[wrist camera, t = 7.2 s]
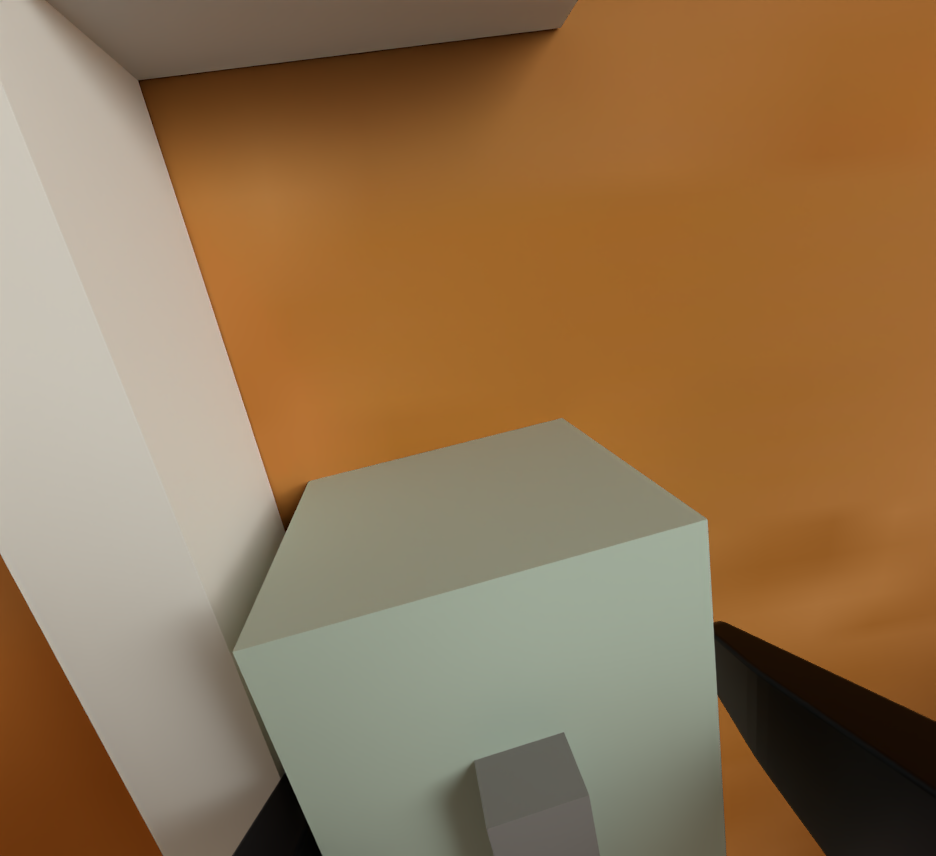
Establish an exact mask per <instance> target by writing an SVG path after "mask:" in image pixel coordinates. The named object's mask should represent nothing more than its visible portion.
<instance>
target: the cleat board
mask: <svg viewBox="0 0 936 856" xmlns="http://www.w3.org/2000/svg"><path fill="white" fill-rule="evenodd" d="M577 1H578V0H0V554H1V556H2V558H3V560H4V562H5V563H6V565H7V567H8V569H9V571H10V573H11V575H12V576H13V578H14V580H15V582H16V584H17V586H18V588H19V589H20V591H21V593H22V595H23V597H24V599H25V601H26V602H27V604H28V606H29V608H30V610H31V612H32V613H33V615H34V617H35V619H36V621H37V623H38V625H39V626H40V628H41V630H42V632H43V634H44V636H45V638H46V639H47V641H48V643H49V645H50V647H51V649H52V651H53V652H54V654H55V656H56V658H57V660H58V662H59V664H60V665H61V667H62V669H63V671H64V673H65V675H66V677H67V678H68V680H69V682H70V684H71V686H72V688H73V690H74V691H75V693H76V695H77V697H78V699H79V701H80V702H81V704H82V706H83V708H84V710H85V712H86V714H87V715H88V717H89V719H90V721H91V723H92V725H93V727H94V728H95V730H96V732H97V734H98V736H99V738H100V740H101V741H102V743H103V745H104V747H105V749H106V751H107V753H108V754H109V756H110V758H111V760H112V762H113V764H114V766H115V767H116V769H117V771H118V773H119V775H120V777H121V778H122V780H123V782H124V784H125V786H126V788H127V790H128V791H129V793H130V795H131V797H132V799H133V801H134V803H135V804H136V806H137V808H138V810H139V812H140V814H141V816H142V817H143V819H144V821H145V823H146V825H147V827H148V829H149V830H150V832H151V834H152V836H153V838H154V840H155V842H156V843H157V845H158V847H159V849H160V851H161V853H162V855H163V856H232V855H233V853H234V852H235V850H236V848H237V847H238V845H239V844H240V842H241V840H242V839H243V837H244V836H245V834H246V833H247V831H248V829H249V828H250V826H251V825H252V823H253V822H254V820H255V818H256V817H257V815H258V814H259V812H260V811H261V809H262V807H263V806H264V804H265V803H266V801H267V800H268V798H269V796H270V795H271V793H272V792H273V790H274V789H275V787H276V785H277V784H278V782H279V781H280V779H281V778H282V776H283V774H284V773H285V770H284V768H283V766H282V763H281V761H280V759H279V757H278V754H277V752H276V750H275V748H274V745H273V743H272V741H271V739H270V736H269V734H268V732H267V730H266V727H265V725H264V723H263V720H262V718H261V716H260V714H259V711H258V709H257V707H256V705H255V702H254V700H253V698H252V696H251V693H250V691H249V689H248V687H247V684H246V682H245V680H244V678H243V675H242V673H241V671H240V669H239V666H238V664H237V662H236V659H235V657H234V655H233V653H232V652H233V650H234V647H235V645H236V643H237V641H238V638H239V636H240V634H241V632H242V629H243V627H244V625H245V623H246V620H247V618H248V616H249V614H250V611H251V609H252V607H253V605H254V603H255V600H256V598H257V596H258V594H259V591H260V589H261V587H262V585H263V582H264V580H265V578H266V576H267V573H268V571H269V569H270V567H271V565H272V562H273V560H274V558H275V556H276V553H277V551H278V549H279V547H280V544H281V542H282V540H283V538H284V535H285V530H284V527H283V524H282V521H281V517H280V514H279V511H278V508H277V505H276V502H275V499H274V496H273V493H272V490H271V487H270V484H269V481H268V478H267V475H266V471H265V468H264V465H263V462H262V459H261V456H260V453H259V450H258V447H257V444H256V441H255V438H254V435H253V432H252V429H251V425H250V422H249V419H248V416H247V413H246V410H245V407H244V404H243V401H242V398H241V395H240V392H239V389H238V386H237V383H236V379H235V376H234V373H233V370H232V367H231V364H230V361H229V358H228V355H227V352H226V349H225V346H224V343H223V340H222V337H221V334H220V330H219V327H218V324H217V321H216V318H215V315H214V312H213V309H212V306H211V303H210V300H209V297H208V294H207V291H206V288H205V284H204V281H203V278H202V275H201V272H200V269H199V266H198V263H197V260H196V257H195V254H194V251H193V248H192V245H191V242H190V238H189V235H188V232H187V229H186V226H185V223H184V220H183V217H182V214H181V211H180V208H179V205H178V202H177V199H176V196H175V192H174V189H173V186H172V183H171V180H170V177H169V174H168V171H167V168H166V165H165V162H164V159H163V156H162V153H161V150H160V147H159V143H158V140H157V137H156V134H155V131H154V128H153V125H152V122H151V119H150V116H149V113H148V110H147V107H146V104H145V101H144V97H143V94H142V91H141V88H140V85H139V82H138V80H145V79H153V78H161V77H169V76H177V75H185V74H193V73H201V72H209V71H217V70H225V69H233V68H241V67H249V66H257V65H265V64H274V63H282V62H290V61H298V60H306V59H314V58H322V57H330V56H338V55H346V54H354V53H362V52H370V51H378V50H386V49H394V48H402V47H410V46H419V45H427V44H435V43H443V42H451V41H459V40H467V39H475V38H483V37H491V36H499V35H507V34H515V33H523V32H531V31H539V30H547V29H555V28H561V26H562V25H563V23H564V21H565V20H566V18H567V17H568V15H569V14H570V12H571V10H572V9H573V7H574V6H575V4H576V2H577Z"/></svg>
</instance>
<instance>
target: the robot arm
mask: <svg viewBox="0 0 936 856" xmlns="http://www.w3.org/2000/svg"><path fill="white" fill-rule="evenodd" d="M713 628H714V646H715V663H716V681H717V695H718V697H719V698H720V700H721V702H722V703H723V705H724V707H725V708H726V710H727V712H728V713H729V715H730V717H731V718H732V720H733V722H734V723H735V725H736V727H737V728H738V730H739V732H740V733H741V735H742V737H743V738H744V740H745V742H746V743H747V745H748V746H749V748H750V750H751V751H752V753H753V754H754V756H755V757H756V759H757V760H758V762H759V763H760V765H761V766H762V768H763V769H764V770H765V772H766V773H767V775H768V776H769V777H770V779H771V780H772V782H773V783H774V784H775V786H776V787H777V788H778V790H779V791H780V793H781V794H782V795H783V797H784V798H785V799H786V801H787V802H788V804H789V805H790V806H791V808H792V809H793V811H794V812H795V813H796V815H797V816H798V817H799V819H800V820H801V822H802V823H803V824H804V826H805V827H806V828H807V830H808V831H809V833H810V834H811V835H812V837H813V838H814V839H815V841H816V842H817V844H818V845H819V846H820V848H821V849H822V850H823V852H824V853H825V855H826V856H936V721H933V720H931V719H929V718H927V717H925V716H923V715H921V714H919V713H916V712H914V711H912V710H910V709H908V708H906V707H904V706H902V705H900V704H897V703H895V702H893V701H891V700H889V699H887V698H885V697H883V696H880V695H878V694H876V693H874V692H872V691H870V690H868V689H866V688H864V687H861V686H859V685H857V684H855V683H853V682H851V681H849V680H847V679H844V678H842V677H840V676H838V675H836V674H834V673H832V672H830V671H828V670H825V669H823V668H821V667H819V666H817V665H815V664H813V663H811V662H808V661H806V660H804V659H802V658H800V657H798V656H796V655H794V654H791V653H789V652H787V651H785V650H783V649H781V648H779V647H777V646H775V645H772V644H770V643H768V642H766V641H764V640H762V639H760V638H758V637H755V636H753V635H751V634H749V633H747V632H745V631H743V630H741V629H739V628H736V627H734V626H732V625H730V624H728V623H726V622H722V621H717V622H713ZM232 856H322V854H321V851H320V849H319V847H318V845H317V842H316V840H315V838H314V836H313V833H312V831H311V829H310V827H309V824H308V822H307V820H306V818H305V815H304V813H303V811H302V809H301V806H300V804H299V802H298V800H297V797H296V795H295V793H294V790H293V788H292V786H291V784H290V781H289V779H288V777H287V775H286V772H285V773H284V774H283V776H282V778H281V779H280V781H279V782H278V784H277V785H276V787H275V789H274V790H273V792H272V793H271V795H270V796H269V798H268V800H267V801H266V803H265V804H264V806H263V807H262V809H261V811H260V812H259V814H258V815H257V817H256V818H255V820H254V822H253V823H252V825H251V826H250V828H249V829H248V831H247V833H246V834H245V836H244V837H243V839H242V840H241V842H240V844H239V845H238V847H237V848H236V850H235V852H234V853H233V855H232Z"/></svg>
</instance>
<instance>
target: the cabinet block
mask: <svg viewBox="0 0 936 856" xmlns="http://www.w3.org/2000/svg"><path fill="white" fill-rule="evenodd" d="M232 653H233V655H234V657H235V659H236V662H237V664H238V666H239V669H240V671H241V673H242V675H243V678H244V680H245V682H246V684H247V687H248V689H249V691H250V693H251V696H252V698H253V700H254V702H255V705H256V707H257V709H258V711H259V714H260V716H261V718H262V720H263V723H264V725H265V727H266V730H267V732H268V734H269V736H270V739H271V741H272V743H273V745H274V748H275V750H276V752H277V754H278V757H279V759H280V761H281V763H282V766H283V768H284V770H285V772H286V775H287V777H288V779H289V781H290V784H291V786H292V788H293V790H294V793H295V795H296V797H297V800H298V802H299V804H300V806H301V809H302V811H303V813H304V815H305V818H306V820H307V822H308V824H309V827H310V829H311V831H312V833H313V836H314V838H315V840H316V842H317V845H318V847H319V849H320V851H321V854H322V856H726V841H725V823H724V806H723V788H722V770H721V752H720V734H719V717H718V699H717V681H716V663H715V646H714V628H713V610H712V592H711V574H710V557H709V539H708V521H707V519H706V518H705V517H703V516H702V515H700V514H699V513H698V512H696V511H695V510H693V509H692V508H690V507H689V506H688V505H686V504H685V503H683V502H682V501H680V500H679V499H678V498H676V497H675V496H673V495H672V494H670V493H669V492H667V491H666V490H665V489H663V488H662V487H660V486H659V485H657V484H656V483H655V482H653V481H652V480H650V479H649V478H647V477H646V476H645V475H643V474H642V473H640V472H639V471H637V470H636V469H635V468H633V467H632V466H630V465H629V464H627V463H626V462H624V461H623V460H622V459H620V458H619V457H617V456H616V455H614V454H613V453H612V452H610V451H609V450H607V449H606V448H604V447H603V446H602V445H600V444H599V443H597V442H596V441H594V440H593V439H591V438H590V437H589V436H587V435H586V434H584V433H583V432H581V431H580V430H579V429H577V428H576V427H574V426H573V425H571V424H570V423H569V422H567V421H566V420H564V419H563V418H561V419H557V420H553V421H549V422H545V423H541V424H537V425H533V426H529V427H525V428H521V429H517V430H513V431H509V432H505V433H501V434H497V435H493V436H489V437H485V438H481V439H477V440H473V441H469V442H465V443H461V444H457V445H453V446H449V447H445V448H441V449H437V450H433V451H429V452H425V453H421V454H417V455H413V456H409V457H405V458H401V459H397V460H393V461H389V462H385V463H380V464H376V465H372V466H368V467H364V468H360V469H356V470H352V471H348V472H344V473H340V474H336V475H332V476H328V477H324V478H320V479H316V480H312V481H309V482H308V484H307V486H306V488H305V491H304V493H303V495H302V497H301V500H300V502H299V504H298V506H297V509H296V511H295V513H294V515H293V518H292V520H291V522H290V524H289V527H288V529H287V531H286V533H285V535H284V538H283V540H282V542H281V544H280V547H279V549H278V551H277V553H276V556H275V558H274V560H273V562H272V565H271V567H270V569H269V571H268V573H267V576H266V578H265V580H264V582H263V585H262V587H261V589H260V591H259V594H258V596H257V598H256V600H255V603H254V605H253V607H252V609H251V611H250V614H249V616H248V618H247V620H246V623H245V625H244V627H243V629H242V632H241V634H240V636H239V638H238V641H237V643H236V645H235V647H234V650H233V652H232Z"/></svg>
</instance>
